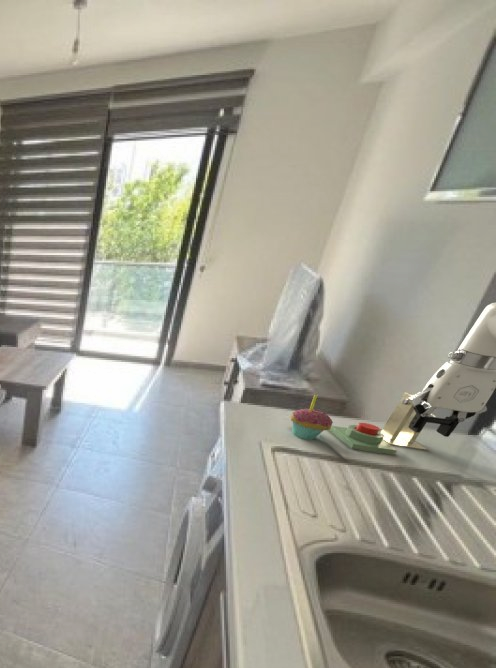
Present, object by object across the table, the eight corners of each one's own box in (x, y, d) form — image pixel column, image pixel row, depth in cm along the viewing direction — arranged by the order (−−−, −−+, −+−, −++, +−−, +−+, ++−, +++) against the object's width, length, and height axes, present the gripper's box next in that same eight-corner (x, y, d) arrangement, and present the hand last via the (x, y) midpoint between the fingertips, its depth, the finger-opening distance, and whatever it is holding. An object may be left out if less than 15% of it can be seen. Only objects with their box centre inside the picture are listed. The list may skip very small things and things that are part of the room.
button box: (391, 458, 117) (401, 443, 115) (349, 451, 119) (357, 437, 117) (366, 438, 126) (374, 425, 124) (327, 432, 128) (334, 419, 126)
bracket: (424, 453, 120) (456, 406, 114) (387, 448, 122) (416, 401, 116) (399, 436, 129) (428, 392, 122) (365, 431, 130) (391, 387, 124)
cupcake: (294, 440, 123) (316, 397, 117) (276, 426, 130) (297, 385, 124) (330, 445, 122) (355, 401, 116) (311, 430, 129) (333, 388, 123)
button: (379, 437, 119) (383, 430, 118) (360, 434, 119) (364, 428, 119) (370, 430, 122) (373, 424, 121) (352, 427, 123) (355, 421, 122)
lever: (448, 428, 114) (455, 419, 112) (423, 424, 115) (430, 416, 113) (423, 406, 121) (430, 398, 120) (400, 403, 122) (406, 395, 121)
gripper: (443, 360, 105) (395, 432, 114) (538, 371, 102) (482, 445, 111) (420, 350, 112) (377, 420, 121) (509, 360, 108) (458, 431, 117)
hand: (428, 431), depth 116 cm, fingers closed on lever, 5 cm apart
